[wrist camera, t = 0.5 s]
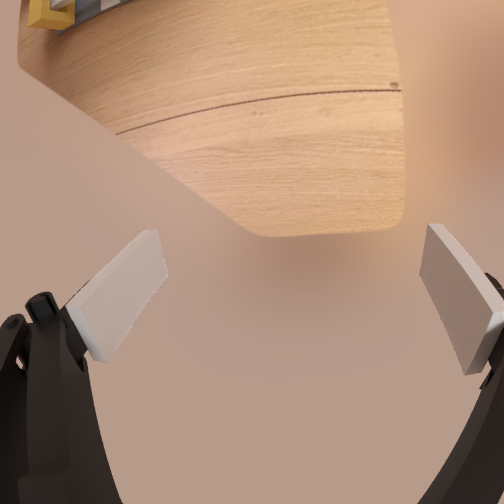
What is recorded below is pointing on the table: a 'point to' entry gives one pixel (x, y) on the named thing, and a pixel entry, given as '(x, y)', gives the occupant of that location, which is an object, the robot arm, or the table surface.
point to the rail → (85, 9)
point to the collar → (50, 15)
